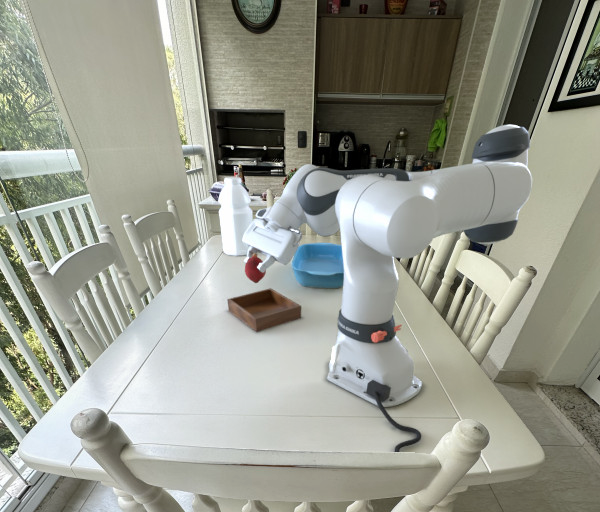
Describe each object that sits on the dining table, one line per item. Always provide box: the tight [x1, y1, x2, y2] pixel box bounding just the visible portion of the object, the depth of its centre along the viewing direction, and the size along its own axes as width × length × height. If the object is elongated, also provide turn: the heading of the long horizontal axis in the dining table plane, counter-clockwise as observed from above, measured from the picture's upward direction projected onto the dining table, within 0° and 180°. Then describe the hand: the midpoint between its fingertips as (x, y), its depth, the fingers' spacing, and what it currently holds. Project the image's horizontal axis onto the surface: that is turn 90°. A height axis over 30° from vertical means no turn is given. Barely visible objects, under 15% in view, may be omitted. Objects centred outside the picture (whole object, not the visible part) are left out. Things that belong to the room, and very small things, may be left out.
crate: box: [226, 287, 302, 333], centre depth 106 cm, size 17×16×4 cm
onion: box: [244, 253, 267, 284], centre depth 97 cm, size 6×6×8 cm
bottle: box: [217, 176, 254, 257], centre depth 148 cm, size 14×14×28 cm
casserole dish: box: [291, 242, 344, 289], centre depth 133 cm, size 37×22×7 cm, turn 175°
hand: (253, 267), depth 97 cm, fingers closed on onion, 5 cm apart
